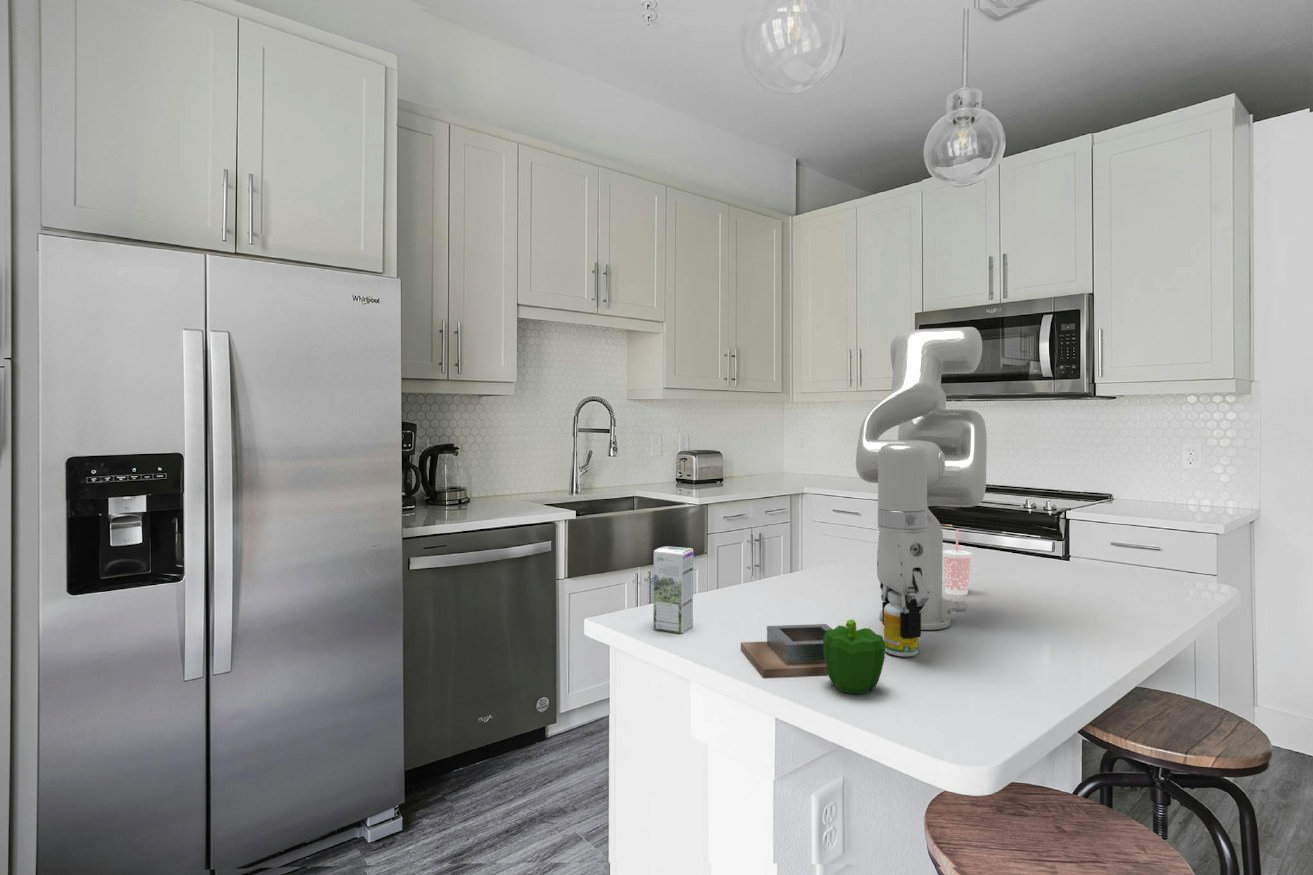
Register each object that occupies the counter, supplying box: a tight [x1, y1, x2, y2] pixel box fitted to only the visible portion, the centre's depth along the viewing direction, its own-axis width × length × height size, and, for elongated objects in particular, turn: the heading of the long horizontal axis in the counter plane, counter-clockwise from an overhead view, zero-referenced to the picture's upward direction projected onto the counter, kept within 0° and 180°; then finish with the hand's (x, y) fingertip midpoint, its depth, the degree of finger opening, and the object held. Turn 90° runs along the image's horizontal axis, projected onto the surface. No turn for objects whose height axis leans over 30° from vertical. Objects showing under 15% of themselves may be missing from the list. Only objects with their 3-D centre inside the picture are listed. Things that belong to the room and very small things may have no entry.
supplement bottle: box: [883, 591, 919, 657], centre depth 115 cm, size 5×5×10 cm
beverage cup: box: [943, 529, 973, 596], centre depth 158 cm, size 6×6×14 cm
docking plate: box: [740, 640, 828, 679], centre depth 112 cm, size 18×13×1 cm
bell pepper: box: [823, 619, 886, 695], centre depth 100 cm, size 8×8×10 cm
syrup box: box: [653, 545, 694, 634], centre depth 129 cm, size 6×6×14 cm
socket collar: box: [766, 623, 834, 665], centre depth 112 cm, size 10×10×3 cm
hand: (900, 630), depth 115 cm, fingers closed on supplement bottle, 5 cm apart
